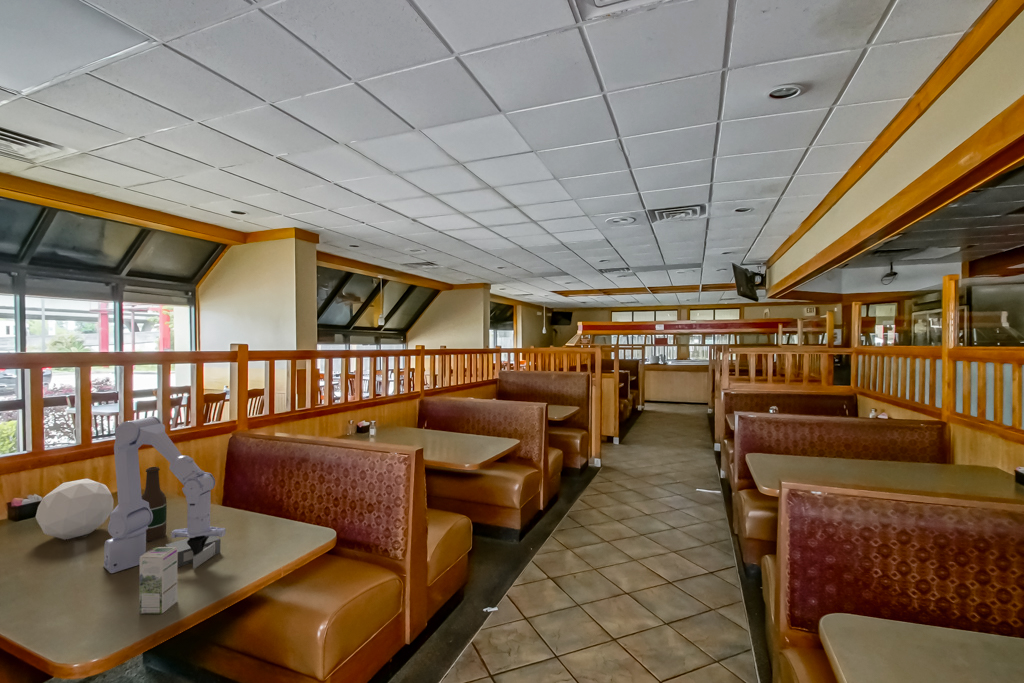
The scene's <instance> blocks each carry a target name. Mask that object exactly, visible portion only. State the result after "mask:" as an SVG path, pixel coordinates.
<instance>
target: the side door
mask: <svg viewBox="0 0 1024 683" xmlns="http://www.w3.org/2000/svg"><path fill="white" fill-rule="evenodd" d="M214 556H216V555H215V542H214V543H212V544H211V545H210V546H208V547H207V548H205V549H204V550H202V551H201V552H199V553H198V554H196V555H194V556H193V562H192V569H197V567H200V566H201V565H202V564H203V563H205V562H206V561H208V560H209V559H211V558H212V557H214Z"/></svg>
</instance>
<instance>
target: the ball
mask: <svg viewBox="0 0 1024 683" xmlns="http://www.w3.org/2000/svg"><path fill="white" fill-rule="evenodd" d="M114 500H115V499H114V497H113V495H112V493H111V491H110V489H109V488H108V486H107V485H106V484H104V483H101V482H98V481H95V480H92V479H90V478H83V479H82V478H81V479H77V480H72V481H71V480H70V481H66V482H62V483H61V484H59V485H58V486H57V487H56V488H54V489H53V490H51V491H50V492H49V493H47V494H46V495H45V496H43V497H42V499H41V501H40V503H39V504H38V506H37V510H36V514H35V520H36V521H37V523H38V525H39V528H40V529H41V531H42V532H43V534H44V535H47V536H50V537H51V536H52V537H54V538H57V539H61V540H64V541H65V540H66V539H67V540H70V539H74V538H78V537H81V536H85V535H89V534H91V533H92V532H94V531H95V530H96V529H97V528H99V527H100V526H102V524H104V523H105V522H106V521H107V519H108V518H110V513H111V512H112V511H113V510H114Z"/></svg>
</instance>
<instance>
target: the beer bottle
mask: <svg viewBox="0 0 1024 683" xmlns="http://www.w3.org/2000/svg"><path fill="white" fill-rule="evenodd" d="M160 470H161V469H160V467H159V466H151V467H148V468H146V470H145V472H146V478H145V487H144V488H145V489H144V493H142V494H141V495H142V499H143V500H145V501H147V502H148V503H149V507H150V510H151V511H152V514H153V520H152V522H151V523H150V524H149V525H148V529H147V530H146V543H147V542H153V541H156V540H158V539H162V538H163V537H164V536H166V535H167V534H166V533H167V510H168V508H167V503H168V502H167V496H166V494H165V493H164V492H163V491H162V490H161V487H160V486H161V485H160V484H161V483H160V472H159V471H160Z"/></svg>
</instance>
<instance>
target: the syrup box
mask: <svg viewBox="0 0 1024 683" xmlns="http://www.w3.org/2000/svg"><path fill="white" fill-rule="evenodd" d="M177 559H178V551H177V547H165V546H155V547H153V548H150V549H149V550H147V551H146V553H145V554H143V555H142V556H140V565H139V615H140V614H142V615H144V614H145V615H146V614H147V615H150V614H151V615H153V614H155V615H156V614H158V615H159V614H163V613H164V612H166V611H167V610H169V609H170V608H171V607H173V606H174V605H175V604H177V602H178V567H177Z"/></svg>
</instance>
